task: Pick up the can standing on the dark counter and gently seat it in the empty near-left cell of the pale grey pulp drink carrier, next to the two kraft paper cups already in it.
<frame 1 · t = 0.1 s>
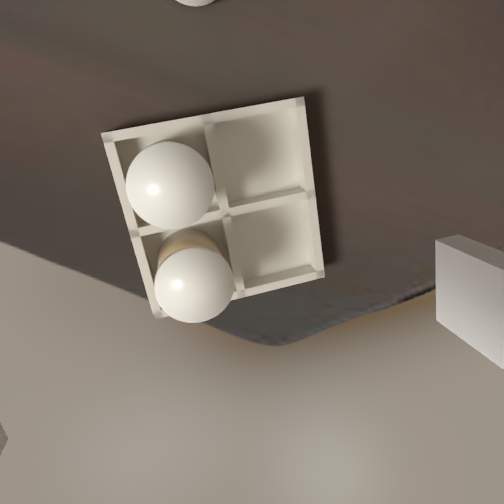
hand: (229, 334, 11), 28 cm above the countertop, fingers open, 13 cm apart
paper cup A: (169, 174, 36), resting on carrier
paper cup C: (189, 258, 39), resting on carrier
carrier: (221, 207, 39), on the countertop
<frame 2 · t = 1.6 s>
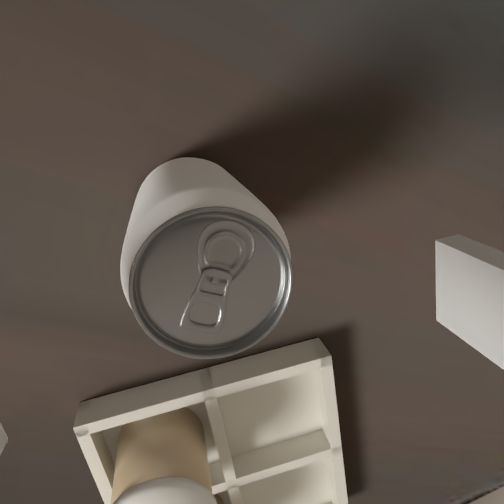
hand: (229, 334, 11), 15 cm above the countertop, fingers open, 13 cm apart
paper cup A: (162, 437, 29), resting on carrier
carrier: (226, 458, 32), on the countertop
can: (189, 208, 25), on the countertop
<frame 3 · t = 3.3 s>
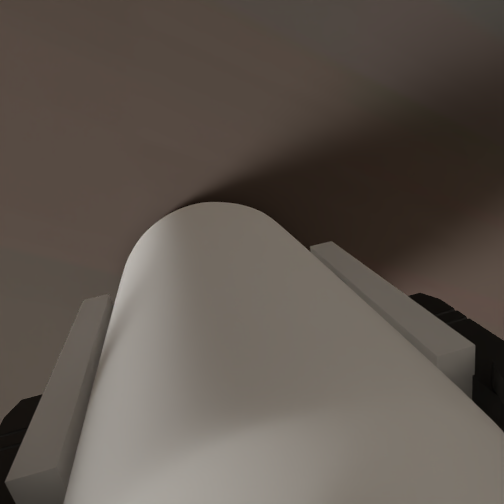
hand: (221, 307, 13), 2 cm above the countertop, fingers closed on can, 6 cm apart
can: (214, 284, 15), on the countertop, touching gripper
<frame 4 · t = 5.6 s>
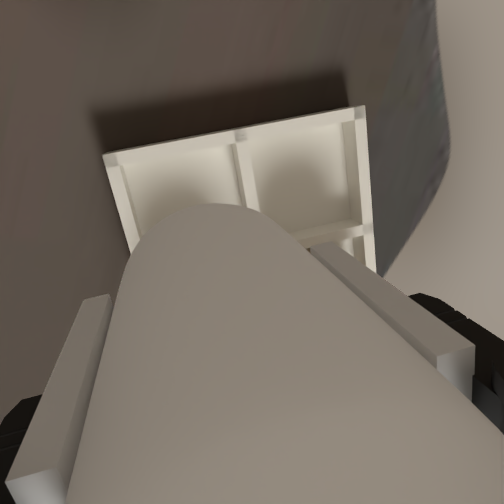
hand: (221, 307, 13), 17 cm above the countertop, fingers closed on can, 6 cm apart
carrier: (254, 244, 31), on the countertop
can: (214, 285, 15), point 15 cm above the countertop, touching gripper
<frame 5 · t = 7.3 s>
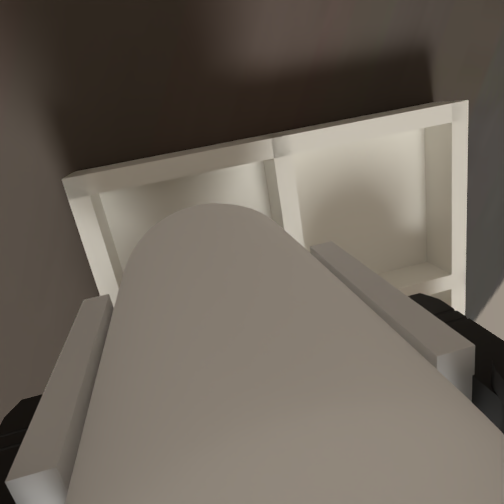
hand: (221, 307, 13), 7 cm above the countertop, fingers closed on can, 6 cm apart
carrier: (290, 299, 22), on the countertop
can: (214, 285, 15), point 5 cm above the countertop, touching gripper
when the fingers open (4 cm above the countertop, at t = 8.3 s): can drops 2 cm, resting on carrier.
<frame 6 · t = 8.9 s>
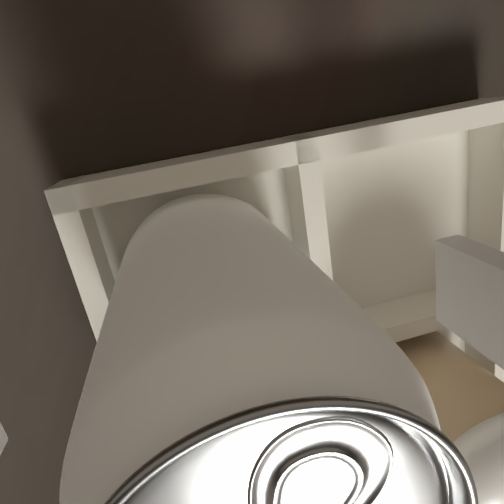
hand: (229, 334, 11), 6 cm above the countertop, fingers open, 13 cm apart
paper cup C: (399, 377, 20), resting on carrier
carrier: (311, 324, 19), on the countertop
can: (205, 267, 17), resting on carrier
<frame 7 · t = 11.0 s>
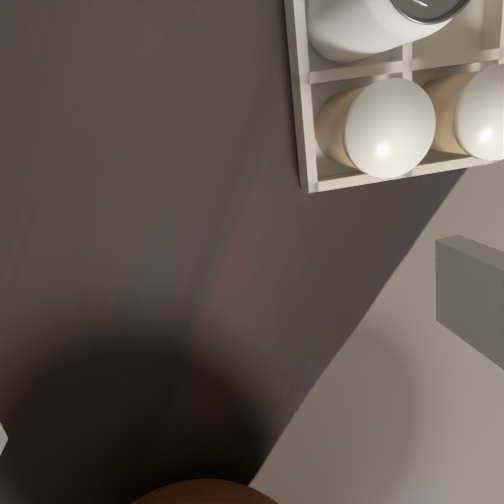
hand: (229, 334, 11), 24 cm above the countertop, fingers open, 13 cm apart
paper cup A: (349, 127, 34), resting on carrier
paper cup C: (439, 114, 35), resting on carrier
carrier: (392, 69, 33), on the countertop
can: (341, 18, 31), resting on carrier
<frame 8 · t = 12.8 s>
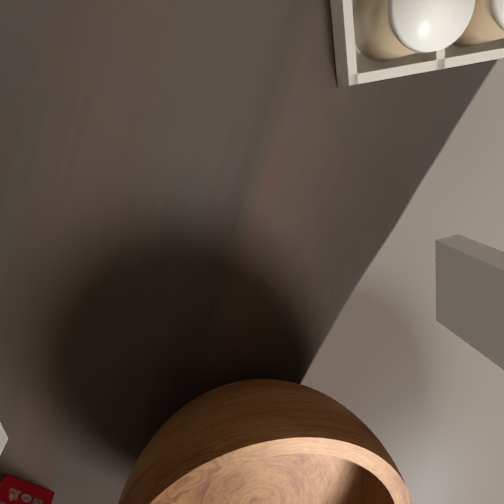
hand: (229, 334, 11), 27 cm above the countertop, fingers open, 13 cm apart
paper cup A: (383, 23, 35), resting on carrier
paper cup C: (467, 10, 36), resting on carrier
bowl: (238, 427, 46), on the countertop
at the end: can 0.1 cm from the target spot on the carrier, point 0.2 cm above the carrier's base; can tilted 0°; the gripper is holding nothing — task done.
